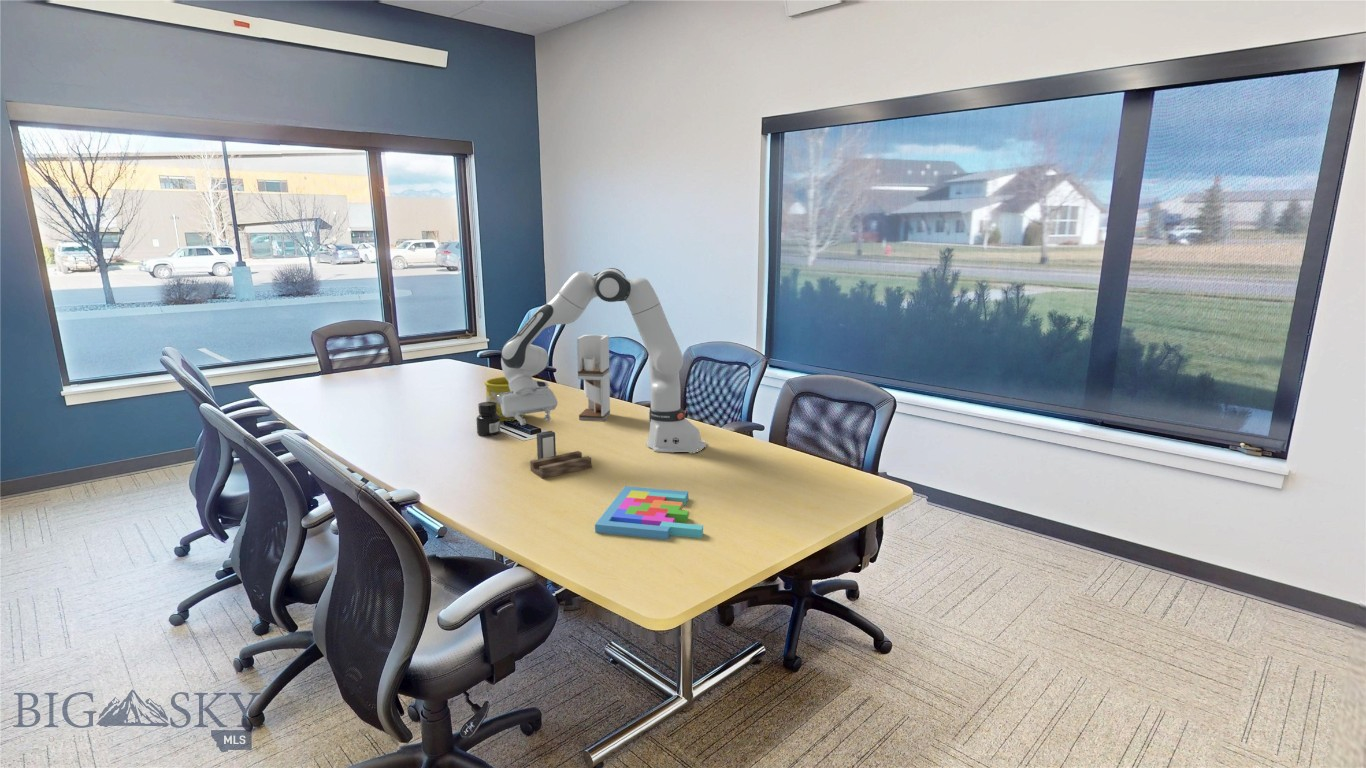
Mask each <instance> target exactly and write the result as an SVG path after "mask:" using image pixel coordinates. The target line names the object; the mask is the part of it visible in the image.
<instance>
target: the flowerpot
mask: <svg viewBox="0 0 1366 768" xmlns="http://www.w3.org/2000/svg"><path fill="white" fill-rule="evenodd" d="M484 386H486V387H485V402H495V403H496V407H497V412H496V413H497V415H499V417H500V423H501V422H503V421H506V420H516V419H515V418H514V416H511V417H505V416H503V414H502V410H501V404H500V403H499V401H498V399H497V397H498V395H500V393H506V392H511V391H510V388H509V383H508V381H507V380H506V378H505V376H499V377H494V378H492V377H491V378H489V379H487V380H485V381H484ZM526 415H527V414H524V415H519V416H520V417H521V418H522V419H524V418H525V416H526ZM503 423H504V422H503Z"/></svg>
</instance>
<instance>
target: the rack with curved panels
mask: <svg viewBox="0 0 1366 768" xmlns="http://www.w3.org/2000/svg"><path fill="white" fill-rule="evenodd" d="M609 337H610V336H609V334H608V335H605V334H600V335H599V334H583V335H581V336H579V337H577V338H576V349H577V350H576V351H577V354H576V355H577V380H583V393H584V395H585V397H586V398H587V400H588V401H587V402H588V404H587V405H588V408H585V409H584V410H583V411H582V412H581V413H580V414H579V415H578V421H597V422H598V421H599V422H604V421H606V419H607V418H608V417H609V416H610V415H611V400H610V398H611V395H610V393H611V390H610V388H611V387H610V386H611V385H610V338H609Z"/></svg>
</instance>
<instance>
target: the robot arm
mask: <svg viewBox="0 0 1366 768" xmlns="http://www.w3.org/2000/svg"><path fill="white" fill-rule="evenodd" d="M597 297H598V298H599V299H600V300H601V301H604V302H608V303H616V302H624V301H625V303H626V305H627V306H628V309H629V312H630V314H631V316H632V318H633V321H634V323H635V326H636V328H637V330H638V331H637V332H638V333H639V335H640V337H641V340H642V343H643V344H644V346H645V349H646V351H647V353H648V361H649V363H648V364H649V381H650V407H649V413H648V417H649V422H650V423H649V431H648V436H647V437H648V438H647V441H646V446H647V447H648V448H650V449H653V451H654V452H657V453H674V452H697V451H700V450H701V449H703V448H704V447H705V446H706V447H707V441H706V440H704V439H703V440H702V439H701V433H700V430H699V428H698V427H697V426H696V425H694V424H693V423H692V422H691V421H690V420H688V419H687V418H686V413H687V409H685V410H684V409H683V408H682V407H681V381H680V371H681V369H682V368H683V364H684V356H683V353H682V349H680V346H679V344H678V342H677V340H676V336H675V335H674V333H673V331H672V329H671V326H670V324H669V321H668V319H667V316H666V314H665V311H664V310H663V306H662V305H661V301H660V299H659V297H658V295H657V293H656V291H655V289H654V288H653V286H652V285H651V282H649V280H648V279H646V278H644V277H637V278H636V277H635V278H633V279H628V278H627V277H626V275H625V274H624V272H622V271H621V270H620V269H617V268H616V267H615V268H614V267H609V268H606V269H603V270H601V271H600V272H597V273H595V274H594V275H592V274H590V273H589V272H587V271H582V270H579V271H575V272H573V274H571V276H569V278H568V279H567V280H566V281H565V282H564V284H563V285H562V286H561V288H560V289H559V291H558V292H557V293H556V294H555V295H554V296H553V298H552V299H550V301H548V302H547V303H546V304H544V305H542V306H540V307H539V308H538V309H537V310H536V311H535V312H534V313H533V314H532V315H531V316H530V317H529V318H528V320H527V321H526V322H525V323H524V325H523V326H522V327H521V328H520V329H519V330H518V331H517V332H516V334H515V335H514V336H512V337H511V338H510V339H509V340H508V341H505V342H506V343H504V345H503V346H502V348H501V358H500V364H501V369H502V372H503V375H504V377H505V378H506V380H507V381H508V383H509V388H510V391H511V392H506V393H500V395H498V397H497V399H498V401H499V403H500V404H501V410H502V414H503V416H505V417H511V416H514V418H515V419H516V420H517V422H519V424H520V426H526V424H527V421H526V419H525V417H523V418H521V417H520V416H519V415H524V414H526V415H529V414H536V413H541V412H542V413H543V412H544V413H545V415H544V420H545V422H549V421H551V415H550V414H551V411H554V410H556V408H557V406H558V403H559V402H558V400H557V397H556V396H555V394H554V392H553V390H552V389H551V388H549V383H548V382H546V381H542V380H538V379H537V380H536V379H533V376H536V375H538V374H540V373H541V372H543V371H544V370H545V369H546V368H547V367H548V365H549V361H550V359H549V354H548V351H547V349H545V348H544V347H542V346H539V345H535V344H532V343H533V342H534V341H535V340H536V338H537V337H538V336H539V335H540V334H541V333H542V332H543V331H544V330H545V329H546V328H548V327H552V326H557V325H568V324H572V323H575V322H576V321H577V320H578V319H579V318H580V317H581V315H582V314H583V313H584V311H585V310H586V309H587V307H588V306H589V304H590V302H591V301H593V299H595V298H597ZM706 447H705V448H706ZM697 449H698V450H697ZM700 452H701V451H700Z"/></svg>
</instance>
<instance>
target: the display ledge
mask: <svg viewBox="0 0 1366 768" xmlns="http://www.w3.org/2000/svg"><path fill="white" fill-rule="evenodd" d="M529 464H530V471H531V472H532V473H533V474H535V475H536V476H538V477H539V478H541V479H543V480H544V479H547V478H552V477H556V476H562V475H565V474H569V473H573V472H579V471H582V470H583V471H584V470H588V469H591V468H592V467H593V465H592V464H593V463H592V457H591V456H589V455H586V456H583V452H581V451H579V450H577V451H572V452H566V453H562V454H556V456H552V457H547V458H542V459H538V458H537V459H533V460H530V463H529Z"/></svg>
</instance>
